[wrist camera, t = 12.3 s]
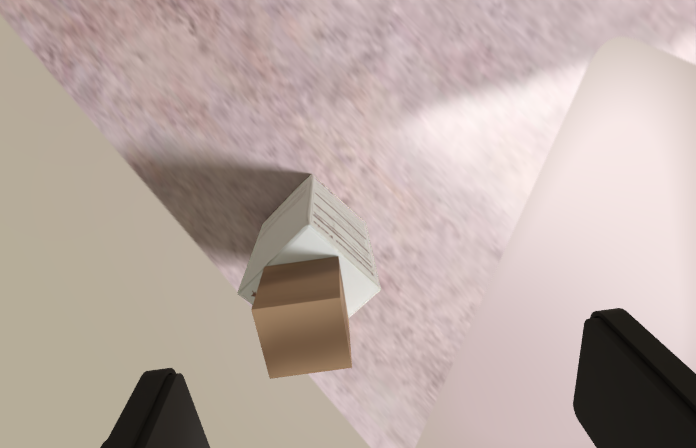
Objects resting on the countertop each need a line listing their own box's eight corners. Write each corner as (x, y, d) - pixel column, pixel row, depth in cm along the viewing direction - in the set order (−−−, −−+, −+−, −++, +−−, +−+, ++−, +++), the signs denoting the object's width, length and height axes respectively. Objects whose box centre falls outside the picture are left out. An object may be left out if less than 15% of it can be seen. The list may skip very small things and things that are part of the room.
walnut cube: (264, 266, 28) (251, 309, 23) (338, 256, 28) (340, 297, 23) (279, 327, 30) (269, 378, 25) (348, 318, 30) (351, 367, 25)
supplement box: (316, 270, 42) (311, 354, 31) (260, 223, 40) (232, 294, 29) (368, 222, 41) (384, 291, 29) (313, 170, 38) (306, 222, 27)
